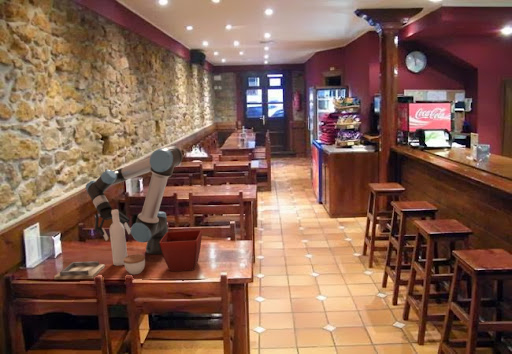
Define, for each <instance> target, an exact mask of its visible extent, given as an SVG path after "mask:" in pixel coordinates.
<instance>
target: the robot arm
mask: <svg viewBox="0 0 512 354" xmlns="http://www.w3.org/2000/svg"><path fill="white" fill-rule="evenodd" d="M183 156H184V154H183V151H182V150H181V149H180V148H179V147H177V146H176V145H168V146H165V147H159V148H158V149H156V150H154V151H153V152H152V153H151V155H150V157H148V158H145V159H142V160H139V161H137V162H134V163H132V164H129V165H126V166H124V167H121V168H119V169H115V170H111V169H106V170H105V171H103V172H102V173H101V175H100V176H99V177H98V178H97V179H96V180H95V179H94V180H90V181H89V182H87V183H86V185H85V190H86V193H87V195H88V196H89V198H90V199H91V201H92V204H93V205H94V208H95V209H96V210H97V213H96V212H95V214H94V220H95V221H94V231H97V232H99V233H100V235H101V236H103V238H104V240H105V241H108V240H109V237H110V236H109V235H108V234H107V232H106V230H105V228H104V227H103V226H104V223H105V221H109V220H112V214H111V211H112V210H113V208H112V205H111V204H110V202H109V200H108V199H107V198H108V197H106V195H105V192H107V190H108V189H109V188H110V187H111V186H115V185H117V184H119V183H122V182H126V181H128V180H131V179H133V178H136V177H139V176H142V175H145V174H148V173H151V178H150V181H149V184H148V188H147V192H146V195H145V200H144V203H143V206H142V210H141V212H140V213H139V214H138V215H137V218H136V220H135V223H133V224H132V226H131V225H130V221H131V219H130V218H129V217H128V216H127V215H125V214H124V213H123V212H122V211H121V210H120V209H119V208H117V209H118V211H119V221H120V223H122V224H123V226H124V230H125V231H126V232H127V234H128V235H131V236H132V237H133V239H134V240H135V241H136V242H138V243H146V247H145V252H146V253H147V254H149V255H163V254H162V251H161V247H160V243H159V242H160V241H161V239H162V238H163V237H164V235H165V234H166V233H167V232H169V229H168V217H167V213H166V212H165V211H160V207H161V204H162V200H163V197H164V194H165V190H166V186H167V183H168V180H169V178H171V177H172V176H173V172H174V169H175V167H178V166H179V165H180V164H181V163H182V162H183V159H184V158H183ZM100 218H102V219H101V222H100V224H99V221H100Z"/></svg>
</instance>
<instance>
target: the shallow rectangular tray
mask: <svg viewBox="0 0 512 354" xmlns="http://www.w3.org/2000/svg"><path fill="white" fill-rule="evenodd" d="M99 263H100V262H99V261H72V262H71V263H70V264H68V265H67V266H65V268H63V269H62V270H61V271H59V272H58V273H57V274H56V275H54V276H53V277H54V280H80V279H81V280H83V279H84V280H85V279H94V278H95V277H96V276H97V275H99V273H100V272H101V271H102V270H103V269H104V268H105V267H106V265H105V264H103V263H100V264H99Z"/></svg>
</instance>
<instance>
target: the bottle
mask: <svg viewBox="0 0 512 354" xmlns="http://www.w3.org/2000/svg"><path fill="white" fill-rule="evenodd" d="M118 209H119V208H116V209H112V211H111V214H112V219H111V220H112V223H111V224H110V225H109V230H108V231H109V237H110V246H111V255H112V262H113V264H112V265H114V266H116V267H117V266H123V265H124V260H123V259H124V258H125V257H127V256H128V251H127V250H128V249H127V240H126V229H125V227H124V224H123V223H121V222H120V221H119V211H120V210H119V211H118Z"/></svg>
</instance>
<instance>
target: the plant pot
mask: <svg viewBox="0 0 512 354" xmlns="http://www.w3.org/2000/svg"><path fill="white" fill-rule="evenodd" d="M202 235H203V230H201V229H200V230H199V229H197V230H194V229H193V230H177V231H168V232H167V233H166V234H165V235H164V237H163V238H162V239H161V241H160V242H159V243H160V247H161V251H162V254H161V255H162V256H163V259H164V261H165V264H166V266H167V268H168V271H169V272H181V271H182V272H183V271H185V272H186V271H194V270H195V269H196V267H197V265H198V262H199V259H200V258H199V257H200V255H201V254H200V253H201V245H202V237H203V236H202Z"/></svg>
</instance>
